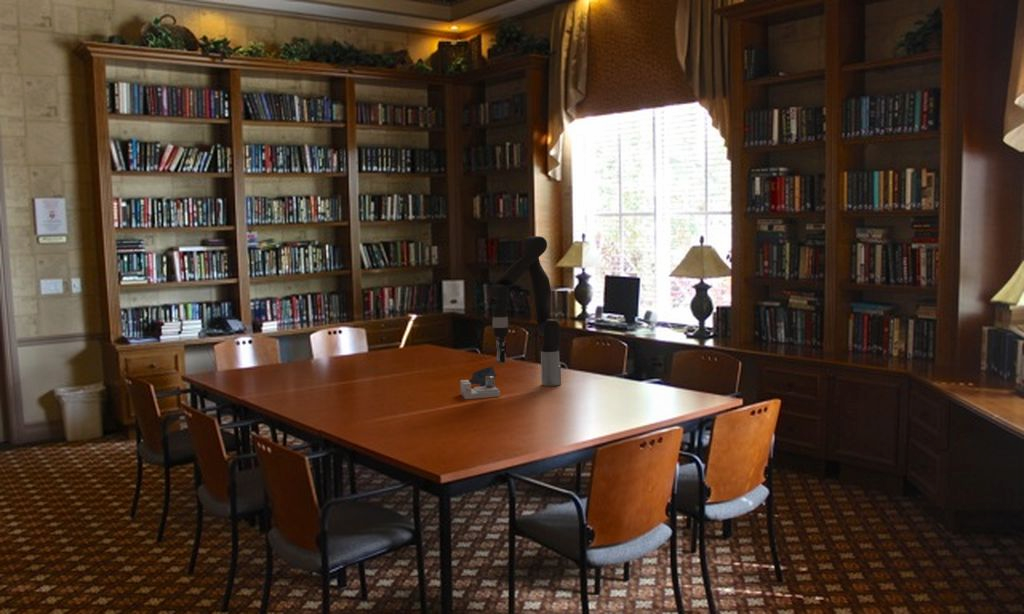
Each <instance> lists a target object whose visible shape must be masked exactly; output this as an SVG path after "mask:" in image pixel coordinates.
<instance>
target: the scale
mask: <svg viewBox="0 0 1024 614" xmlns="http://www.w3.org/2000/svg"><path fill="white" fill-rule="evenodd" d="M460 395H461V396H462V398H463V399H464V400H474V399H486V398H487V399H488V398H497V397H498V398H500V397H501V391H500V390H499V388H498V387H496V386H495V387H493V388H486V385H485V386H474V387H473V388H472V384H471V383H470V382H469V379H461V380H460Z"/></svg>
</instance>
